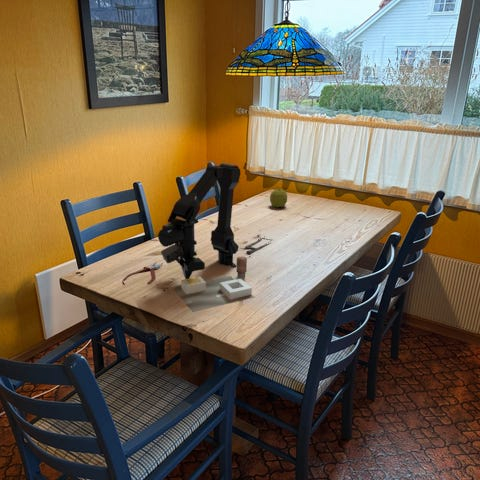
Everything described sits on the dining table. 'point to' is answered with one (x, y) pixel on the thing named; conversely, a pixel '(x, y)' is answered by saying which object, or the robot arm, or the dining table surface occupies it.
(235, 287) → the pilot socket
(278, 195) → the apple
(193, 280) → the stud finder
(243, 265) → the brown wooden peg
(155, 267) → the pliers
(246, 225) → the dining table surface
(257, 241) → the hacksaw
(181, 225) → the robot arm
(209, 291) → the board
